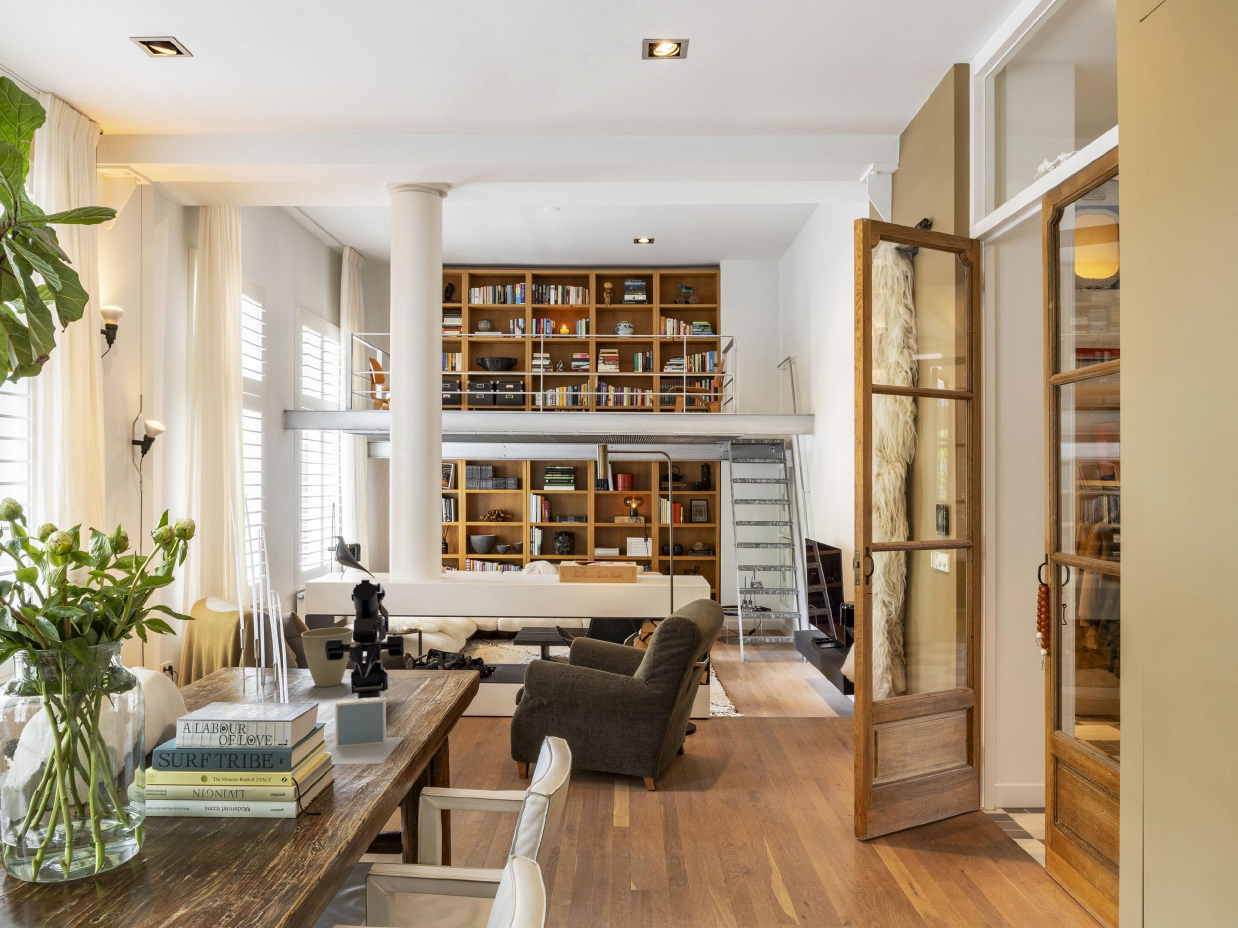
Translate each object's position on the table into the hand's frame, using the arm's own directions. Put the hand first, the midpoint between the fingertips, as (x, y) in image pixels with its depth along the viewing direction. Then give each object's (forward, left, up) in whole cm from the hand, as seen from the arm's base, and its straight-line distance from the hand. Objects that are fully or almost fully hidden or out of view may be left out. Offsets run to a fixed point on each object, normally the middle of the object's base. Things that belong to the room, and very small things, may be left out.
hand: (363, 676), depth 201 cm
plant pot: (-49, -27, -14) cm, 58 cm away
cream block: (+9, +2, -13) cm, 16 cm away
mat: (+14, +3, -14) cm, 20 cm away
